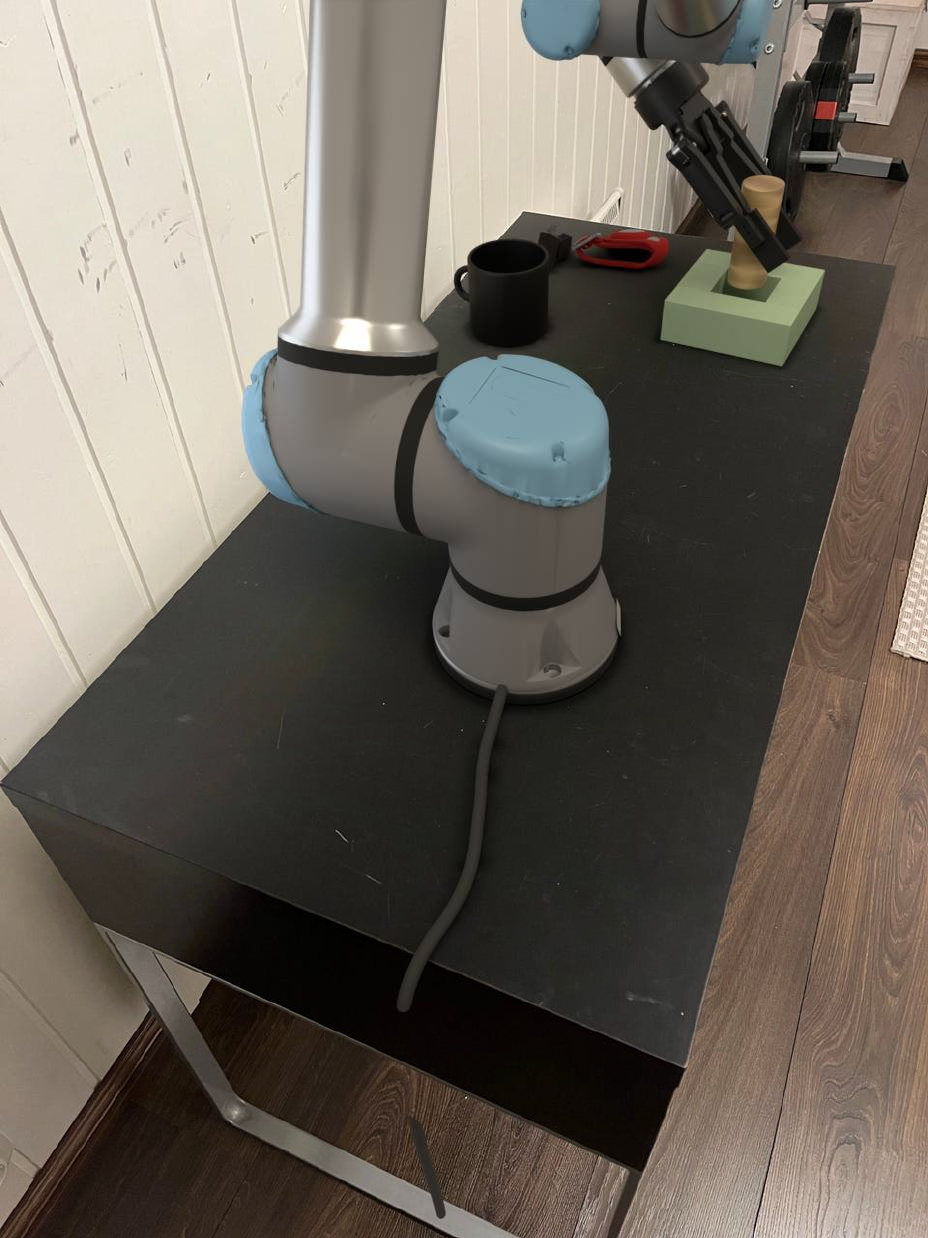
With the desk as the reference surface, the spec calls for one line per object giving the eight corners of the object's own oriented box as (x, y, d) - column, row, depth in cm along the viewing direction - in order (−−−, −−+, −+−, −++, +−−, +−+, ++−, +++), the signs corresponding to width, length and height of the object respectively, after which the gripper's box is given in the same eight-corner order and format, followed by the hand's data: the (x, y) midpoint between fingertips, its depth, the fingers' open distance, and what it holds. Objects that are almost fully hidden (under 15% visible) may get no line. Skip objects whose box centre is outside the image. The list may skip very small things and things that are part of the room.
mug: (473, 300, 120) (470, 229, 113) (560, 317, 116) (562, 245, 109) (438, 334, 114) (432, 262, 108) (528, 354, 110) (528, 280, 103)
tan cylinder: (759, 292, 106) (778, 193, 98) (722, 285, 108) (737, 187, 100) (771, 276, 109) (790, 178, 101) (734, 269, 111) (749, 172, 103)
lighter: (551, 272, 129) (561, 232, 127) (564, 275, 128) (575, 235, 126) (527, 261, 122) (538, 219, 120) (541, 264, 121) (552, 222, 120)
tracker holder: (629, 225, 130) (685, 229, 123) (627, 260, 132) (682, 265, 125) (564, 230, 124) (620, 234, 116) (563, 266, 126) (617, 272, 118)
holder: (782, 366, 105) (790, 325, 102) (660, 339, 111) (664, 299, 107) (816, 309, 114) (825, 269, 110) (701, 287, 119) (706, 248, 116)
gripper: (655, 74, 91) (792, 270, 96) (714, 25, 101) (835, 204, 107) (601, 126, 96) (733, 308, 102) (662, 75, 107) (780, 242, 112)
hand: (785, 255), depth 104 cm, fingers closed on tan cylinder, 4 cm apart
